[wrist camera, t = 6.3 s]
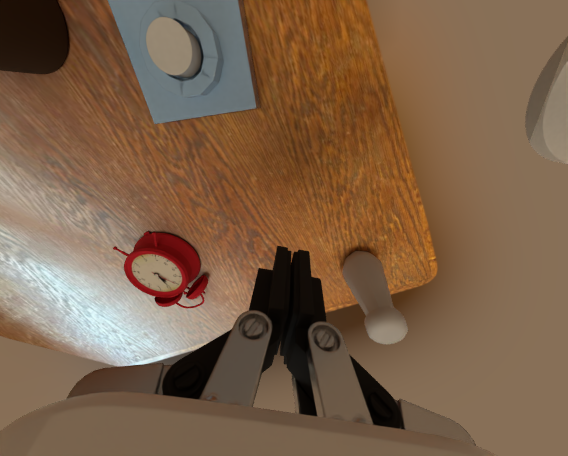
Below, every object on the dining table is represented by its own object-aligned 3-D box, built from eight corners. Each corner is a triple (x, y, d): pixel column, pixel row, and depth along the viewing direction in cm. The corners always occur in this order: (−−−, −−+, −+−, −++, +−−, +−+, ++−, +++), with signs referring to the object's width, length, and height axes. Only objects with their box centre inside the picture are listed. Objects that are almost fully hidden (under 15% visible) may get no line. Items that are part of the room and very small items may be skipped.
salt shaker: (361, 280, 37) (391, 358, 25) (332, 266, 35) (351, 342, 24) (385, 255, 34) (430, 330, 23) (355, 239, 33) (387, 310, 21)
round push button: (193, 21, 18) (182, 12, 16) (206, 74, 20) (198, 71, 18) (152, 29, 18) (137, 21, 16) (169, 81, 20) (157, 78, 18)
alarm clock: (158, 228, 29) (208, 320, 32) (184, 216, 35) (224, 295, 38) (99, 251, 31) (152, 334, 35) (133, 236, 37) (175, 309, 40)
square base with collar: (240, -16, 20) (225, -50, 16) (260, 108, 25) (253, 108, 20) (129, 8, 21) (87, -18, 17) (169, 122, 26) (144, 125, 22)
